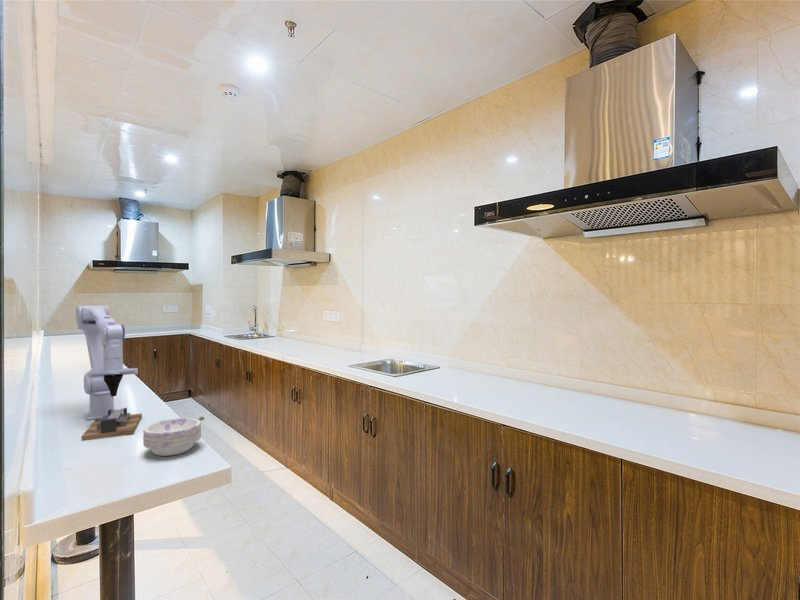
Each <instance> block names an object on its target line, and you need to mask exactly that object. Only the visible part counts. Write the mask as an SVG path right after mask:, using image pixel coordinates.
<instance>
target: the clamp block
mask: <svg viewBox="0 0 800 600" xmlns="http://www.w3.org/2000/svg"><path fill="white" fill-rule="evenodd" d="M122 409H123V412H122V414H121V416H120V417H119V419H118V420H117V418H112V419H107V418H108V417H109V416H110V414H111V413H112V409H110V410H108V415H105V416H103V417H102V418H101V419H100V421H99V422H98V423H97V430H101V433H109V432H116V430H117V428H118V427H125V426H126V425H127V423H128V421H129V420H130V415H131V413H130V412H128V407H123V408H122Z"/></svg>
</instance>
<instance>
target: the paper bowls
mask: <svg viewBox="0 0 800 600" xmlns="http://www.w3.org/2000/svg"><path fill="white" fill-rule="evenodd" d="M198 419H199V418H191V417H179V418H170V419H164V420H161V421H160V420H159V421H156V422H153V423H151V424H148V425H147V426H145V427H144V428H143V437H142V439H143V440H142V441H143V444H142V445H143V447H144V448H146V449H150V450H151V452H152V453H153V454H154V455H156V456H159V457H171V456H177V455H181V454H183V453H186V452H187V451H189V450H190V449H192V448H193V445H194V444H195V443H196V442H198V441H199V440H200V439H201V437H202V422H201V420H198Z"/></svg>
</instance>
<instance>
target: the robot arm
mask: <svg viewBox="0 0 800 600" xmlns="http://www.w3.org/2000/svg"><path fill="white" fill-rule="evenodd" d="M75 320H76V325H77V328H78V329H79V330H82V331H83V333H84V335H85V341H86V345H87V353H88V356H89V357H88V358H89V363H90V367H91V368H90V369H89V371H87V372H86V373H85V374H84V377H83V390H84V393H85V394H87V395H89V415H88V417H87V418H85V419H86V421H89V420H90V421H91V420H96V419H97V418H102V417H103V416H105V415H108V410H110V409H112V410H115V408H114V407H115V406H114V405H115V404H114V403H115V400H114V399H115V398H114V397H116V396H118V395H117V394H118V390H119V386H120V384H121V382H122V380H123V378H124V377H123V376H125V375H138V374H139V373H138V372H139V370H138V369H139V368H138V367H134V368H133V367H132V368H124V355H123V353H124V351H123V350H124V349H123V348H124V347H123V345H124V344H123V343H124V341H123V340H125V337H126V328H125V325H124V324H123V323H117V322H116V320H115V319H114V318H113V317H112V316H110V307H109V306H108V305H106V304H104V305H100V304H99V305H78V306H77V307H76V308H75Z"/></svg>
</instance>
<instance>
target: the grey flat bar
mask: <svg viewBox="0 0 800 600" xmlns="http://www.w3.org/2000/svg"><path fill="white" fill-rule="evenodd" d="M121 414H123V408H117V409H114V410H112V413H111V414H110V416H109V417H108V418H107V419H112V418H117V420H118V419H119V417H120V416H121Z"/></svg>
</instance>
